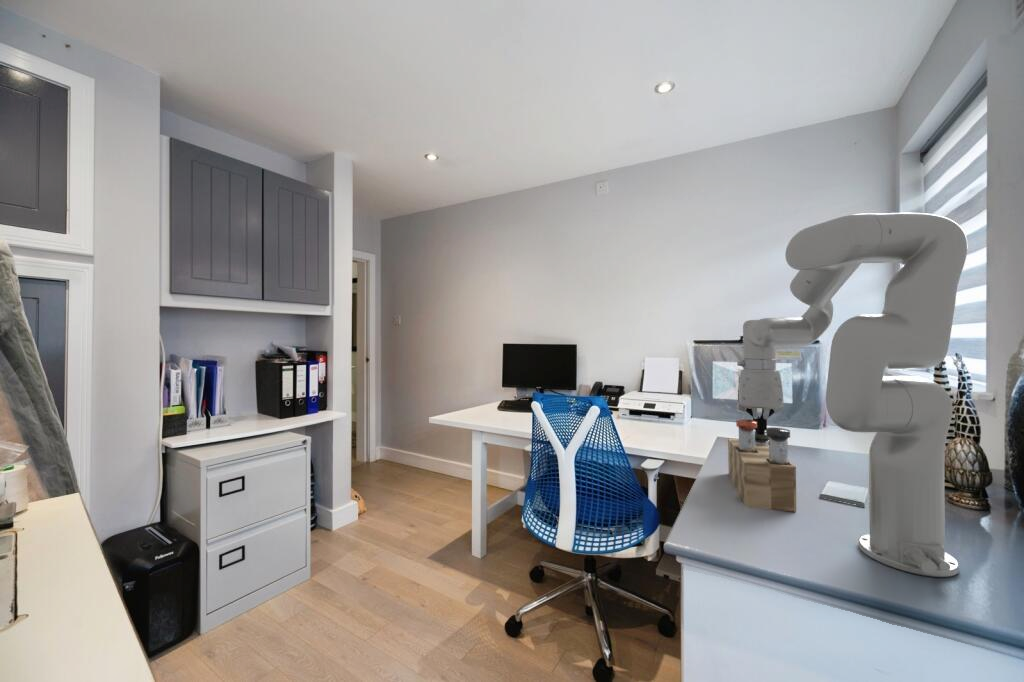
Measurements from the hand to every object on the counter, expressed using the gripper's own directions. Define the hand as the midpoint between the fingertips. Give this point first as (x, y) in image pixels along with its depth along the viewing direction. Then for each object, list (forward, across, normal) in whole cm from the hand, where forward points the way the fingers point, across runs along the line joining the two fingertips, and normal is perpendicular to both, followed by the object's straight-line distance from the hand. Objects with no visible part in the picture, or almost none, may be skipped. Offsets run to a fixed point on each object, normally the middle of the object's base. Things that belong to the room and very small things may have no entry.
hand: (759, 432), depth 112 cm
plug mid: (+7, -5, -9) cm, 13 cm away
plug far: (+12, 0, 0) cm, 12 cm away
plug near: (+7, 0, -18) cm, 20 cm away
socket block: (+13, -2, -9) cm, 16 cm away
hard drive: (+13, +17, -6) cm, 22 cm away
